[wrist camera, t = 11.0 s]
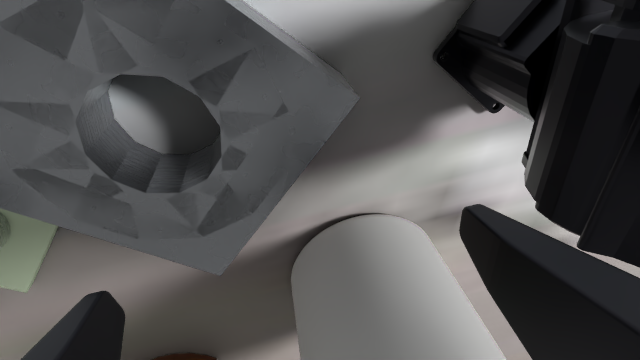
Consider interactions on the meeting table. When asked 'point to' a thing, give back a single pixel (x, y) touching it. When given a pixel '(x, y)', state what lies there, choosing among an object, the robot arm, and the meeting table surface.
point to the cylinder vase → (382, 297)
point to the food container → (185, 357)
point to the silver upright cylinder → (4, 230)
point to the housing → (144, 163)
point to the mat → (24, 250)
